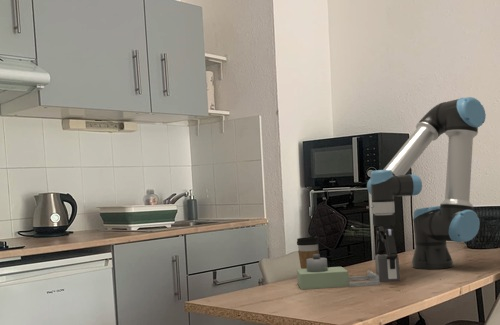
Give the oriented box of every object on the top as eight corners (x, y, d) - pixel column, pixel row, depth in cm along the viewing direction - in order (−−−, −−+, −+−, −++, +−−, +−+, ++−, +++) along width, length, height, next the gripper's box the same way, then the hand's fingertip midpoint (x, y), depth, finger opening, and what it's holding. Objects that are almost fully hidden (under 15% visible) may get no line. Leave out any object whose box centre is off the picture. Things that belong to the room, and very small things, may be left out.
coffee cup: (320, 278, 207) (317, 237, 208) (297, 279, 209) (295, 238, 209) (322, 274, 215) (319, 235, 216) (300, 275, 217) (297, 236, 218)
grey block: (396, 279, 197) (394, 253, 197) (400, 281, 192) (398, 255, 193) (376, 280, 196) (374, 255, 197) (379, 282, 192) (378, 256, 192)
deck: (342, 280, 199) (340, 250, 200) (349, 286, 187) (346, 254, 188) (297, 283, 199) (295, 253, 199) (301, 289, 187) (299, 257, 187)
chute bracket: (370, 278, 200) (370, 270, 200) (379, 284, 187) (379, 275, 187) (342, 280, 200) (341, 272, 200) (349, 286, 187) (348, 277, 187)
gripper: (365, 213, 208) (368, 271, 207) (381, 216, 183) (385, 281, 182) (385, 212, 208) (388, 270, 207) (404, 215, 183) (408, 280, 182)
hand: (387, 275), depth 194 cm, fingers open, 13 cm apart
